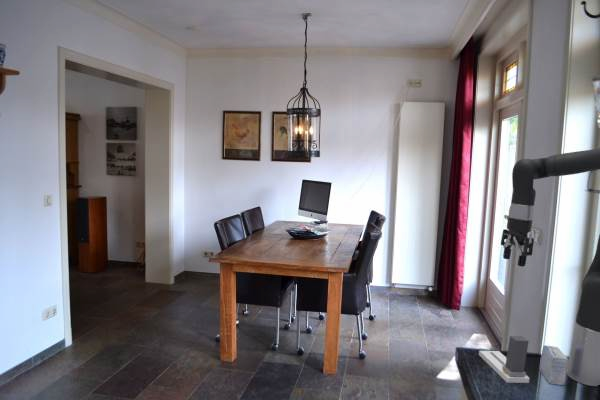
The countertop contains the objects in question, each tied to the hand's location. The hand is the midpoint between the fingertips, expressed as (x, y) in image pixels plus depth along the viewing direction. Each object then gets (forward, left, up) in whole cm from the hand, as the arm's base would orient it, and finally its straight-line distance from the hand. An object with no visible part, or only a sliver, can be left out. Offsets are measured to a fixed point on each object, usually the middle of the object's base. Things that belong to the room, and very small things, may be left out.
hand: (513, 262), depth 146 cm
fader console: (+10, +17, -30) cm, 36 cm away
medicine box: (-3, +22, -30) cm, 38 cm away
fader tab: (+10, +22, -28) cm, 37 cm away
